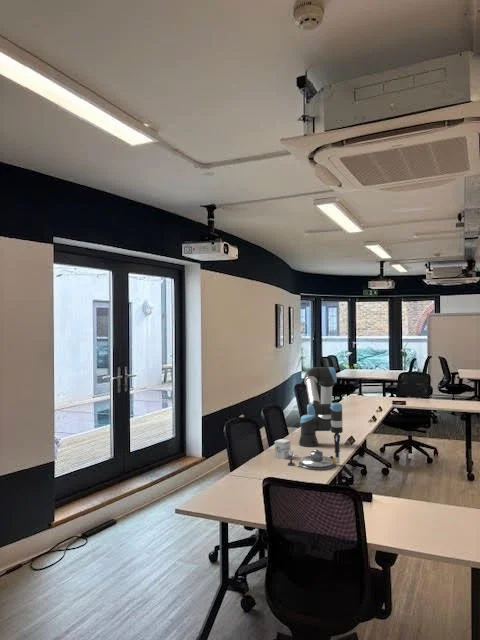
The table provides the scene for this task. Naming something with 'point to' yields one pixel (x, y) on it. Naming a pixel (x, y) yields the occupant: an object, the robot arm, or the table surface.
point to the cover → (316, 455)
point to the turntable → (321, 464)
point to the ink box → (282, 448)
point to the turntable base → (317, 468)
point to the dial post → (291, 458)
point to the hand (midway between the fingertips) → (337, 461)
